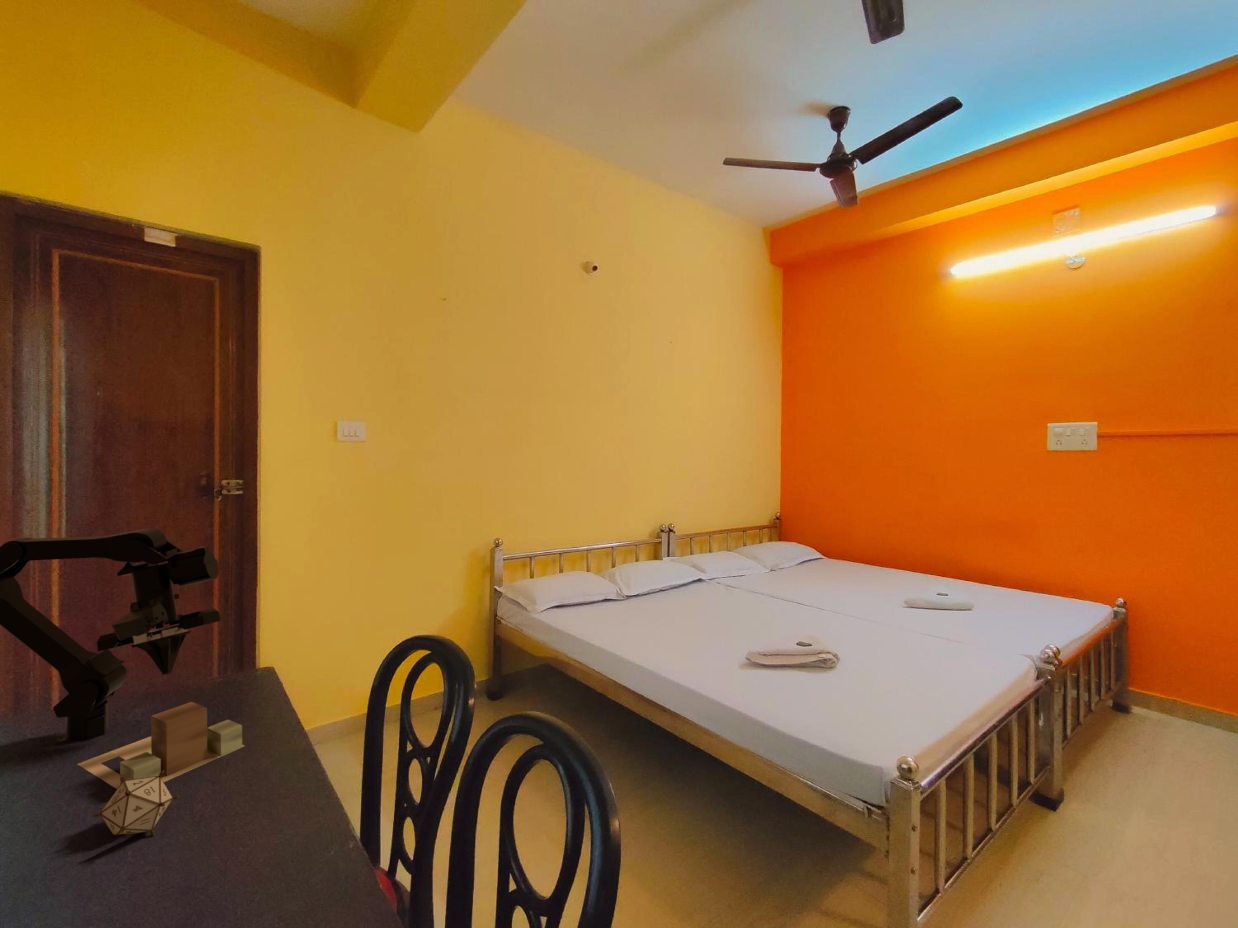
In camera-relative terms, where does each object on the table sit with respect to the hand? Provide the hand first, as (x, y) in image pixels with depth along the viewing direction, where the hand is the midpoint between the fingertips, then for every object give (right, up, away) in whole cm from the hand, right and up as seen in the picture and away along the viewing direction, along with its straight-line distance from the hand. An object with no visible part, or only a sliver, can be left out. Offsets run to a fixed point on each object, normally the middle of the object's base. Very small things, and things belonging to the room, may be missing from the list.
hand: (167, 673), depth 105 cm
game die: (+16, -14, -25) cm, 33 cm away
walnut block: (+10, -12, -10) cm, 18 cm away
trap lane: (+5, -13, -7) cm, 16 cm away
